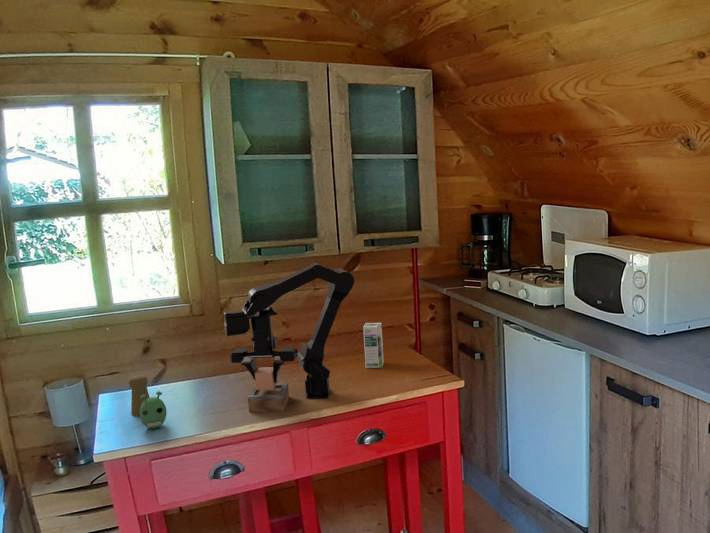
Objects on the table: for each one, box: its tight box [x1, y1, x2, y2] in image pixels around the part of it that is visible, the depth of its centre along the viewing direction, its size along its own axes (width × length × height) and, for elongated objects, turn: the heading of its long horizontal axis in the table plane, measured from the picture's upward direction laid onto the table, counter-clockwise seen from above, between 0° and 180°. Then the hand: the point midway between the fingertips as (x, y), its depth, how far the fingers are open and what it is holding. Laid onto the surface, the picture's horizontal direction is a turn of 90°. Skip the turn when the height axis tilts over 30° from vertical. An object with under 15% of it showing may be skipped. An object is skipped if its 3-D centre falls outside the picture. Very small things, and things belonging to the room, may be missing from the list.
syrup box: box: [362, 322, 385, 369], centre depth 202 cm, size 6×6×14 cm
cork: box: [128, 374, 151, 417], centre depth 175 cm, size 6×6×11 cm
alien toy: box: [139, 390, 168, 429], centre depth 163 cm, size 7×8×10 cm
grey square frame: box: [247, 382, 290, 413], centre depth 175 cm, size 10×10×5 cm
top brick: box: [254, 366, 278, 390], centre depth 175 cm, size 5×5×5 cm
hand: (266, 382), depth 175 cm, fingers open, 5 cm apart
